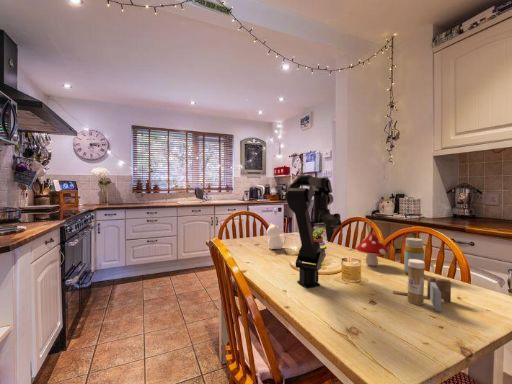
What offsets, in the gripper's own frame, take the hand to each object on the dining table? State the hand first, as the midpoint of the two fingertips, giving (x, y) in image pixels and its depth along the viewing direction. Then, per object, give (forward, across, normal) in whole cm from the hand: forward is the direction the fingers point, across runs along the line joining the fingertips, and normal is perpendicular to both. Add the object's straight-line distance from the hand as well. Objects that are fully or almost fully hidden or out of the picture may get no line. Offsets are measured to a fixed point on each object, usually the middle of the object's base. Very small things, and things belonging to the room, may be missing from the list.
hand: (320, 242), depth 108 cm
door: (+13, +13, -39) cm, 43 cm away
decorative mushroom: (+13, +29, -2) cm, 32 cm away
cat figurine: (+13, +4, +45) cm, 47 cm away
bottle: (+13, +35, -18) cm, 42 cm away
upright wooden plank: (+13, +16, -33) cm, 39 cm away
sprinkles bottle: (+13, +10, -35) cm, 39 cm away
